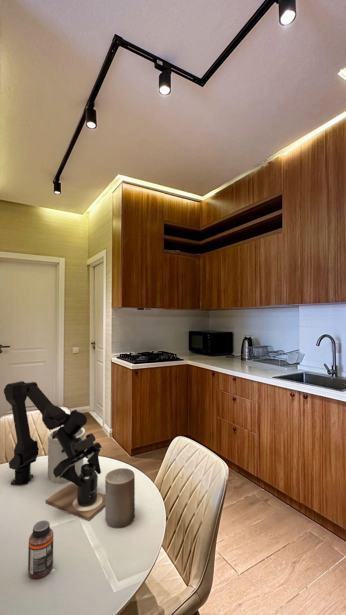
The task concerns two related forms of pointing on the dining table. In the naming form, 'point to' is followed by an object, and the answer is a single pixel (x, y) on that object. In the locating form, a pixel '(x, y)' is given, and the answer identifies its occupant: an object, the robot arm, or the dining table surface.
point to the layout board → (75, 503)
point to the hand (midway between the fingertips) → (91, 479)
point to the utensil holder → (60, 456)
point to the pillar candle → (119, 497)
